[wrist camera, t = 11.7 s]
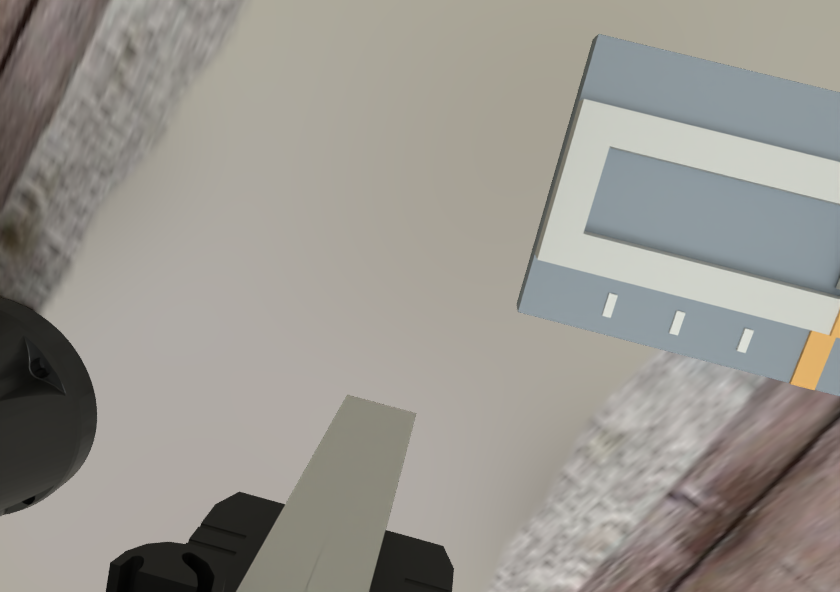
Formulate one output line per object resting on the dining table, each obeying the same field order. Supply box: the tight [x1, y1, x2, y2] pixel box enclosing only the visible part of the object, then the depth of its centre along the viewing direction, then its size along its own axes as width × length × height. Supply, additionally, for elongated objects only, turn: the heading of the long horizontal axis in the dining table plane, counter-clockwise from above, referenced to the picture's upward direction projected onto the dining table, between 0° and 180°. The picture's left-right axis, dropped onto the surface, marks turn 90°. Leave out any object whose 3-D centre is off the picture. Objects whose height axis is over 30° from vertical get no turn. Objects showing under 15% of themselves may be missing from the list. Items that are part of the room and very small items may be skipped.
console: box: [517, 34, 840, 396], centre depth 38 cm, size 16×24×4 cm, turn 76°
